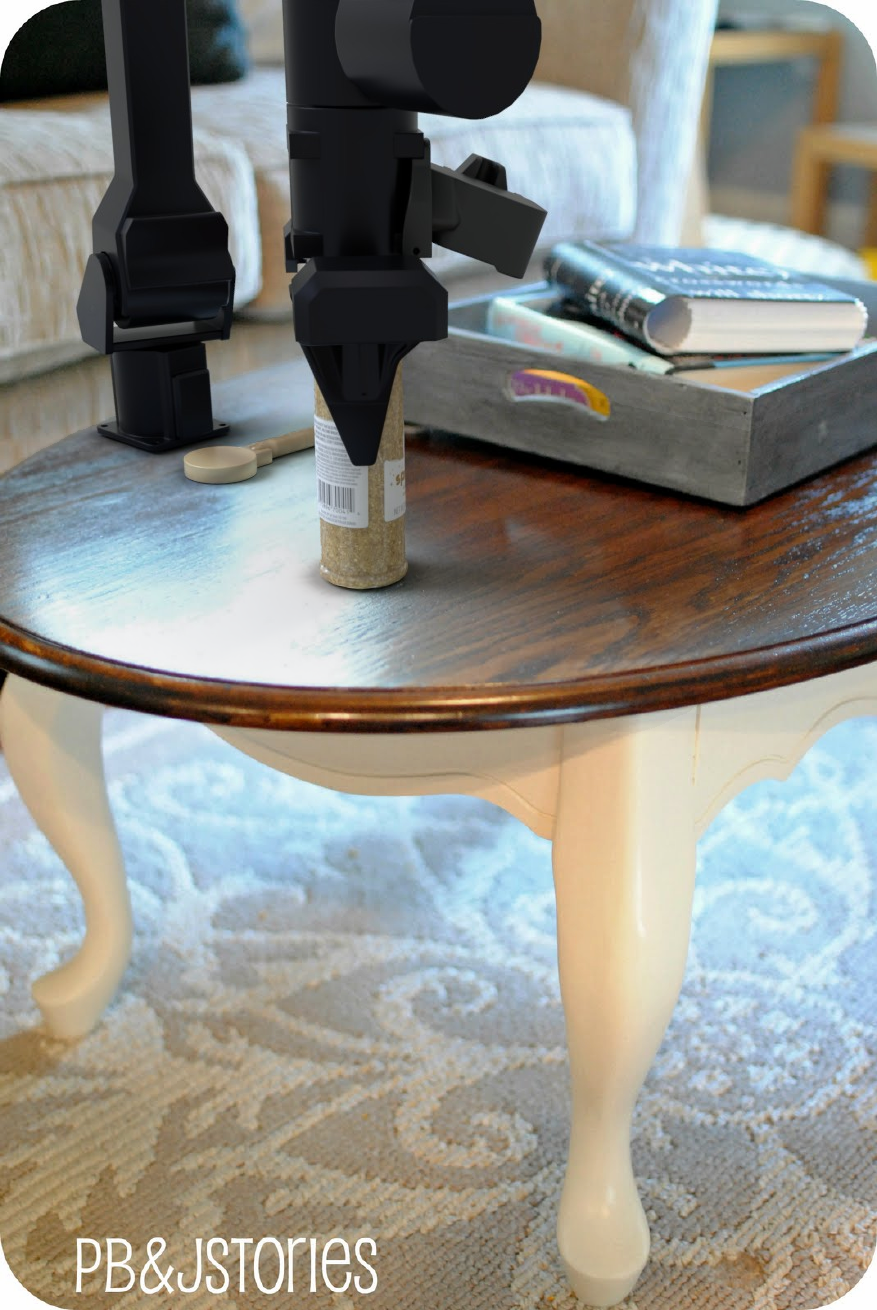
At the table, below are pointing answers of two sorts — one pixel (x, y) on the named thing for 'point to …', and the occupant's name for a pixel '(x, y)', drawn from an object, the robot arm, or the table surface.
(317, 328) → the robot arm
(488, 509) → the table surface
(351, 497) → the sprinkles bottle
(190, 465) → the wooden spoon
